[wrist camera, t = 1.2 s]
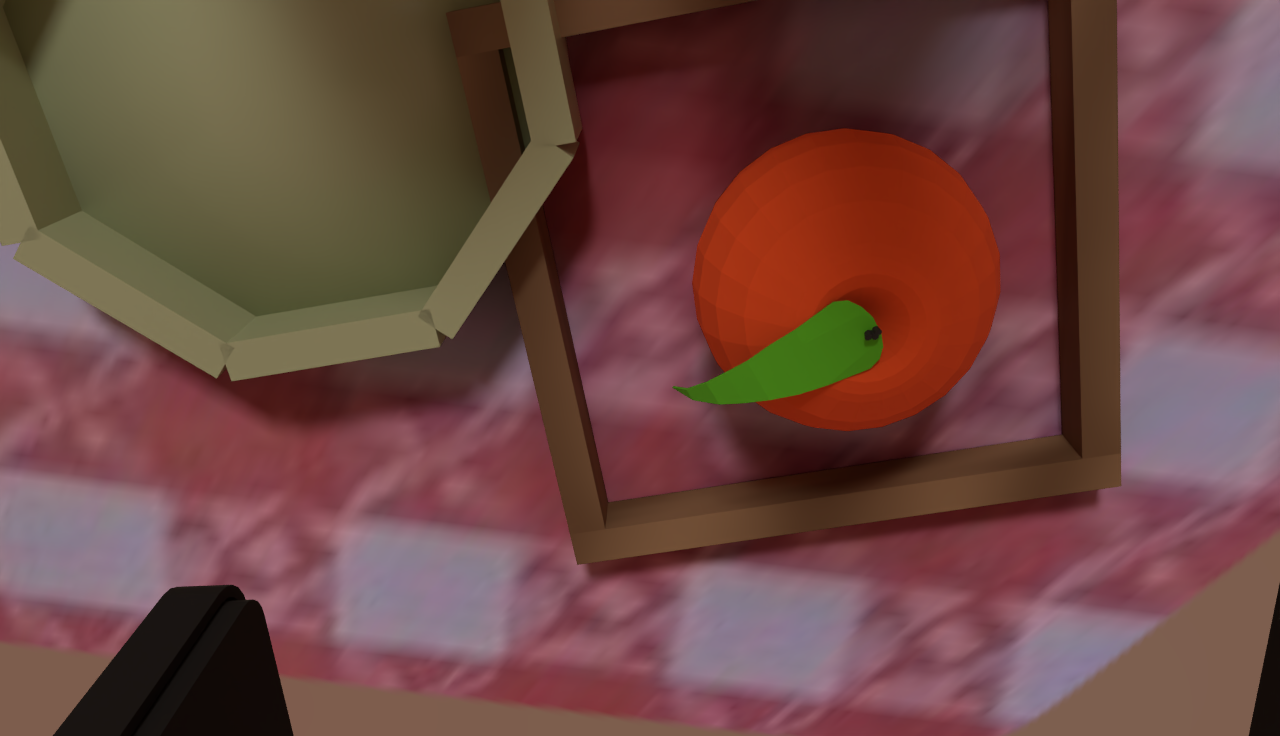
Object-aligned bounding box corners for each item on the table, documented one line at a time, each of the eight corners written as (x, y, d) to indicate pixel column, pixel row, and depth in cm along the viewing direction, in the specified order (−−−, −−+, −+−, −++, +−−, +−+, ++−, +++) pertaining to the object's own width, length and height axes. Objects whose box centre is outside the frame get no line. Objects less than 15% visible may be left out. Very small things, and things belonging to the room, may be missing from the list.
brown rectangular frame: (1089, -114, 24) (1115, -118, 22) (1099, 460, 29) (1121, 486, 28) (457, 9, 25) (445, 12, 24) (581, 536, 30) (577, 564, 29)
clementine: (733, 424, 29) (755, 563, 22) (604, 216, 27) (585, 303, 20) (997, 286, 27) (1103, 393, 21) (883, 53, 25) (960, 89, 19)
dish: (496, -324, 22) (474, -359, 20) (616, 283, 27) (611, 318, 25) (-97, -192, 24) (-191, -209, 21) (124, 366, 29) (70, 407, 26)
